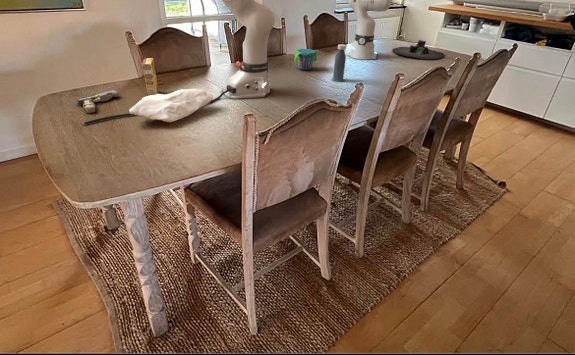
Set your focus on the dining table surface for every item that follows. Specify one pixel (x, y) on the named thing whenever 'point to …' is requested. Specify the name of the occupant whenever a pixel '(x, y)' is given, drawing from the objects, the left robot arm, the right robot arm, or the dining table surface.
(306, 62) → the snack cup
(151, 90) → the candy box
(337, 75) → the bottle
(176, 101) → the crumpled cloth
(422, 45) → the dark round tray
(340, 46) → the cap
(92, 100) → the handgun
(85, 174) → the dining table surface
